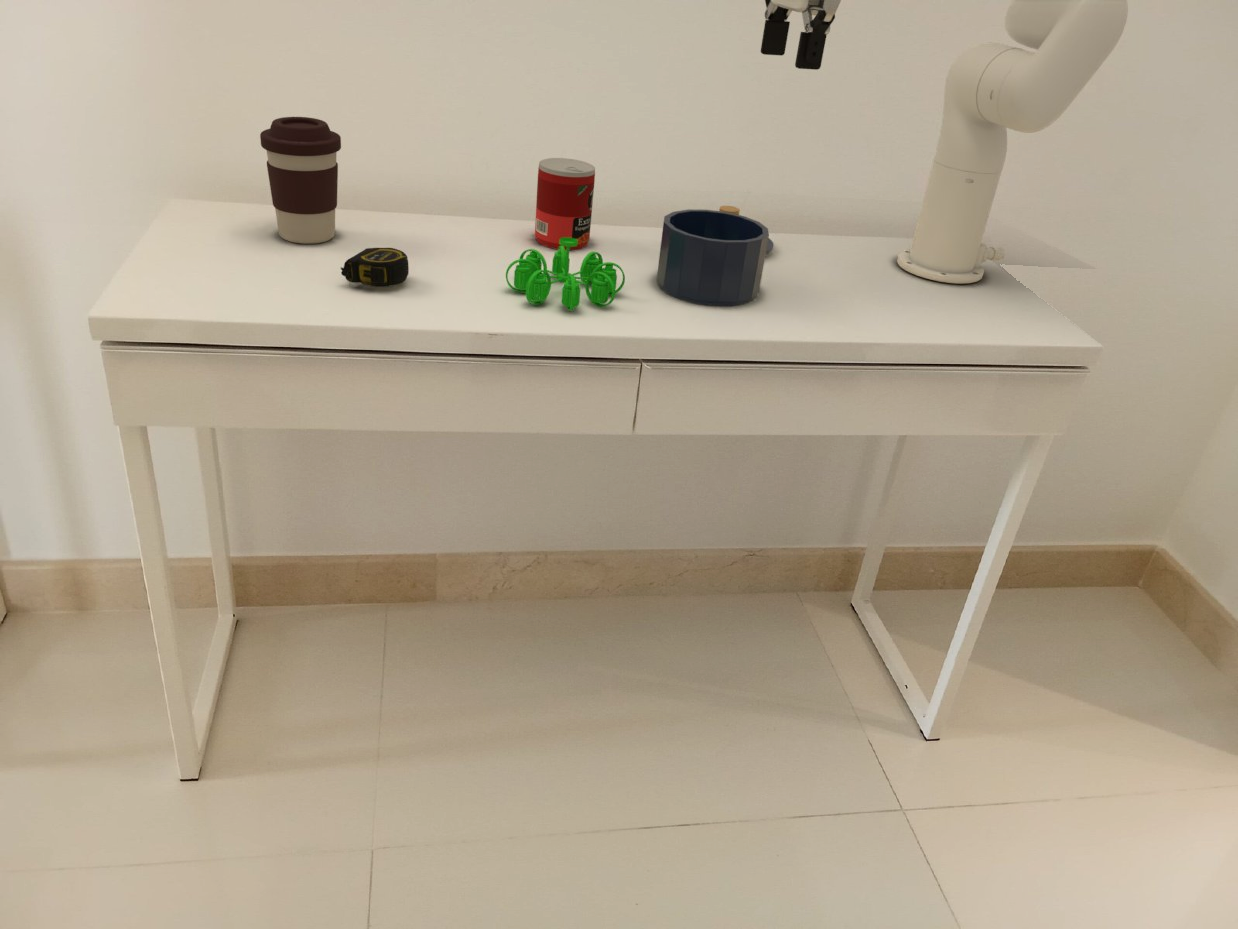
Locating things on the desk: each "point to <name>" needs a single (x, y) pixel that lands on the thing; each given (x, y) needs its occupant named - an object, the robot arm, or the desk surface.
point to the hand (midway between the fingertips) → (789, 61)
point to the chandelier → (565, 276)
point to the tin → (711, 257)
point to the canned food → (564, 201)
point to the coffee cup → (303, 177)
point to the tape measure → (377, 267)
